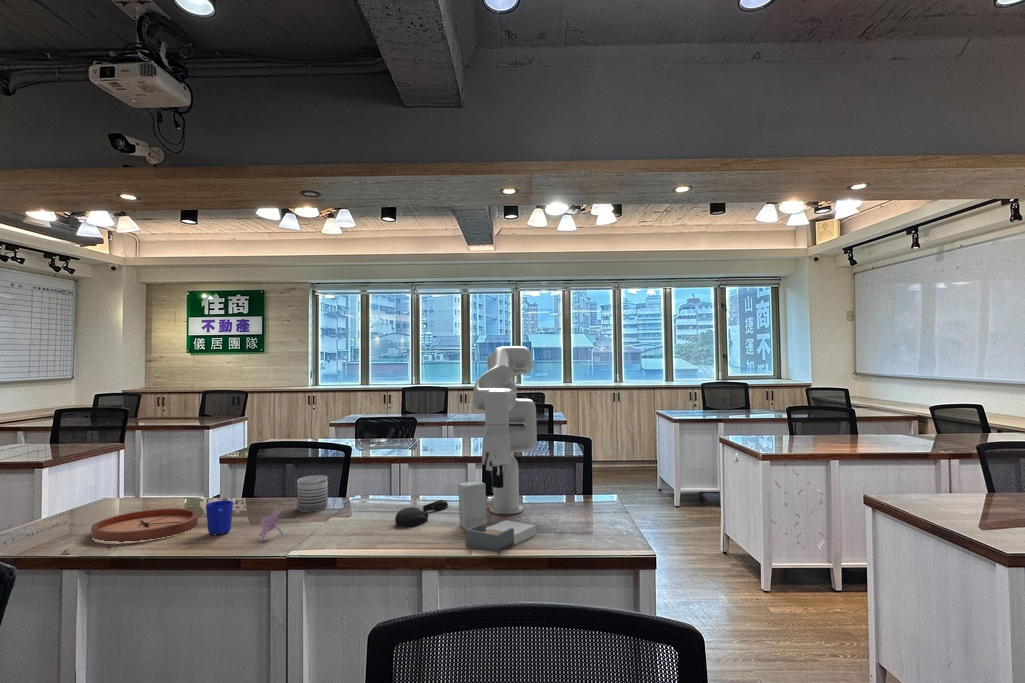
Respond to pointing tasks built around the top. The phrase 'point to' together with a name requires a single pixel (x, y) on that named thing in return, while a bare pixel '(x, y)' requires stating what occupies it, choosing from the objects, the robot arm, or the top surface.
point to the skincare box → (472, 504)
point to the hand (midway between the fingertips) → (497, 487)
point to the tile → (493, 531)
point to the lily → (269, 523)
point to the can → (312, 493)
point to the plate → (516, 529)
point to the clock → (145, 525)
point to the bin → (488, 538)
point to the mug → (219, 516)
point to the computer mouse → (417, 514)
